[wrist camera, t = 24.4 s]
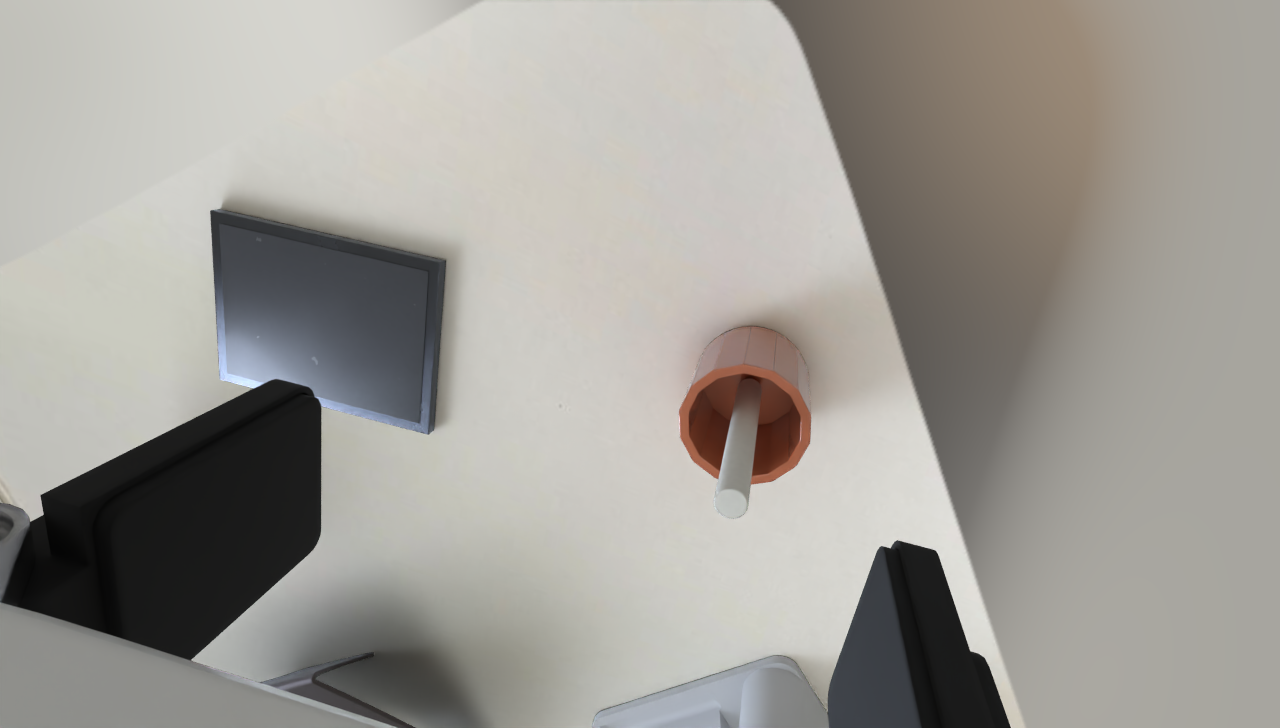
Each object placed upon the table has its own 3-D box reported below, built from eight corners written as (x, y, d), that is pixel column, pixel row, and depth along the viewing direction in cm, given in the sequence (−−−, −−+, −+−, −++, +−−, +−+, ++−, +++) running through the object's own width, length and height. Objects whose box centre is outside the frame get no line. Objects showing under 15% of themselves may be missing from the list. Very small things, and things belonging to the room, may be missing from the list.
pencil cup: (707, 314, 41) (691, 351, 34) (822, 340, 40) (827, 383, 33) (686, 414, 43) (667, 466, 37) (793, 440, 42) (793, 498, 36)
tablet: (219, 208, 45) (209, 210, 44) (446, 260, 43) (439, 262, 42) (227, 375, 50) (218, 380, 49) (434, 430, 48) (428, 435, 47)
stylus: (741, 369, 41) (717, 485, 28) (764, 375, 41) (751, 494, 28) (736, 391, 42) (710, 514, 29) (759, 396, 41) (743, 523, 28)
